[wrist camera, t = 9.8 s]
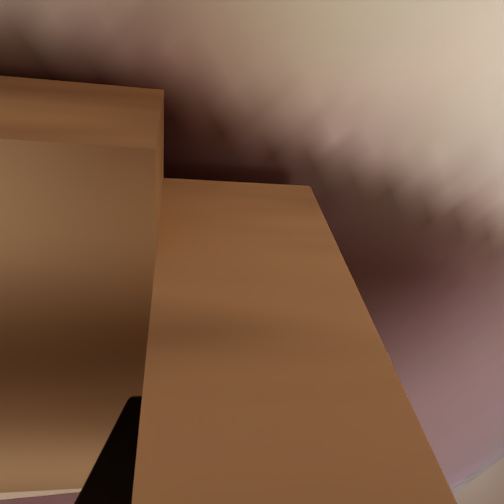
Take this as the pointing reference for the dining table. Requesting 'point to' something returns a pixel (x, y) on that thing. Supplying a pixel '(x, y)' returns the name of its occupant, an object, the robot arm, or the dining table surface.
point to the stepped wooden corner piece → (183, 322)
